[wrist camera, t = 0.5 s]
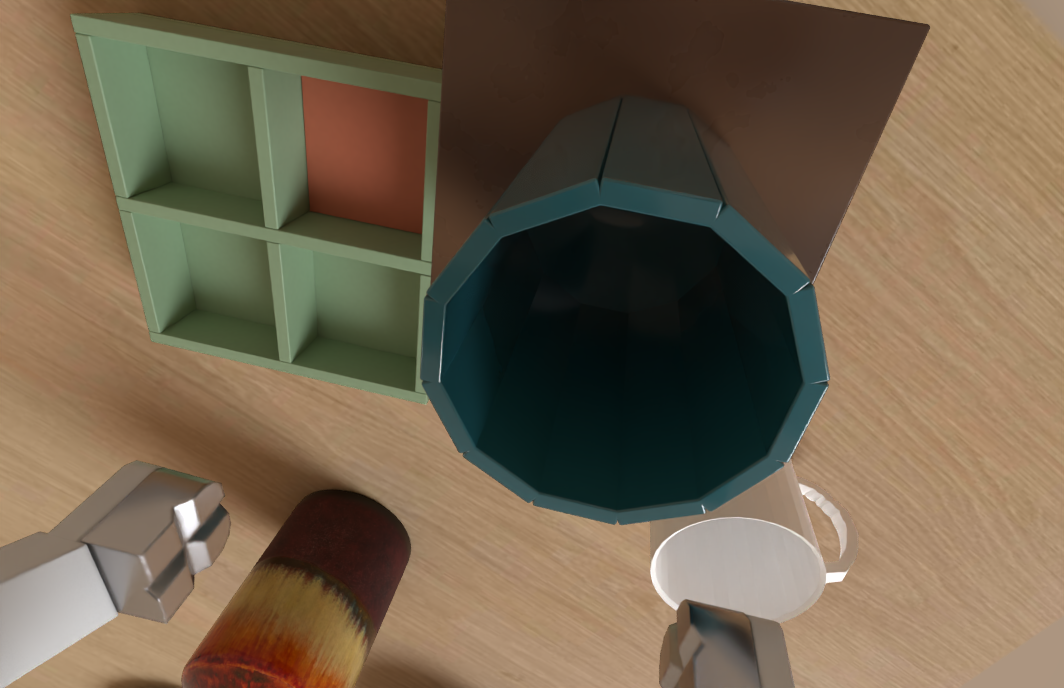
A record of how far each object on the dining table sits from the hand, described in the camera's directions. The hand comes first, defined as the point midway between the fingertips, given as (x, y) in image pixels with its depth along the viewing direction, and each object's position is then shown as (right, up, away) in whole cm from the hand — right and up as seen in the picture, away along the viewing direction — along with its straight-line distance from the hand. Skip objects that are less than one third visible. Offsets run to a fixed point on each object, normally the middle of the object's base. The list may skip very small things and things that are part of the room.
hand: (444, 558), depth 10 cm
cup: (+4, +8, +7) cm, 11 cm away
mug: (+16, -5, +29) cm, 33 cm away
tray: (-12, +12, +25) cm, 30 cm away
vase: (-14, -13, +40) cm, 44 cm away
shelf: (+7, +15, +19) cm, 25 cm away
